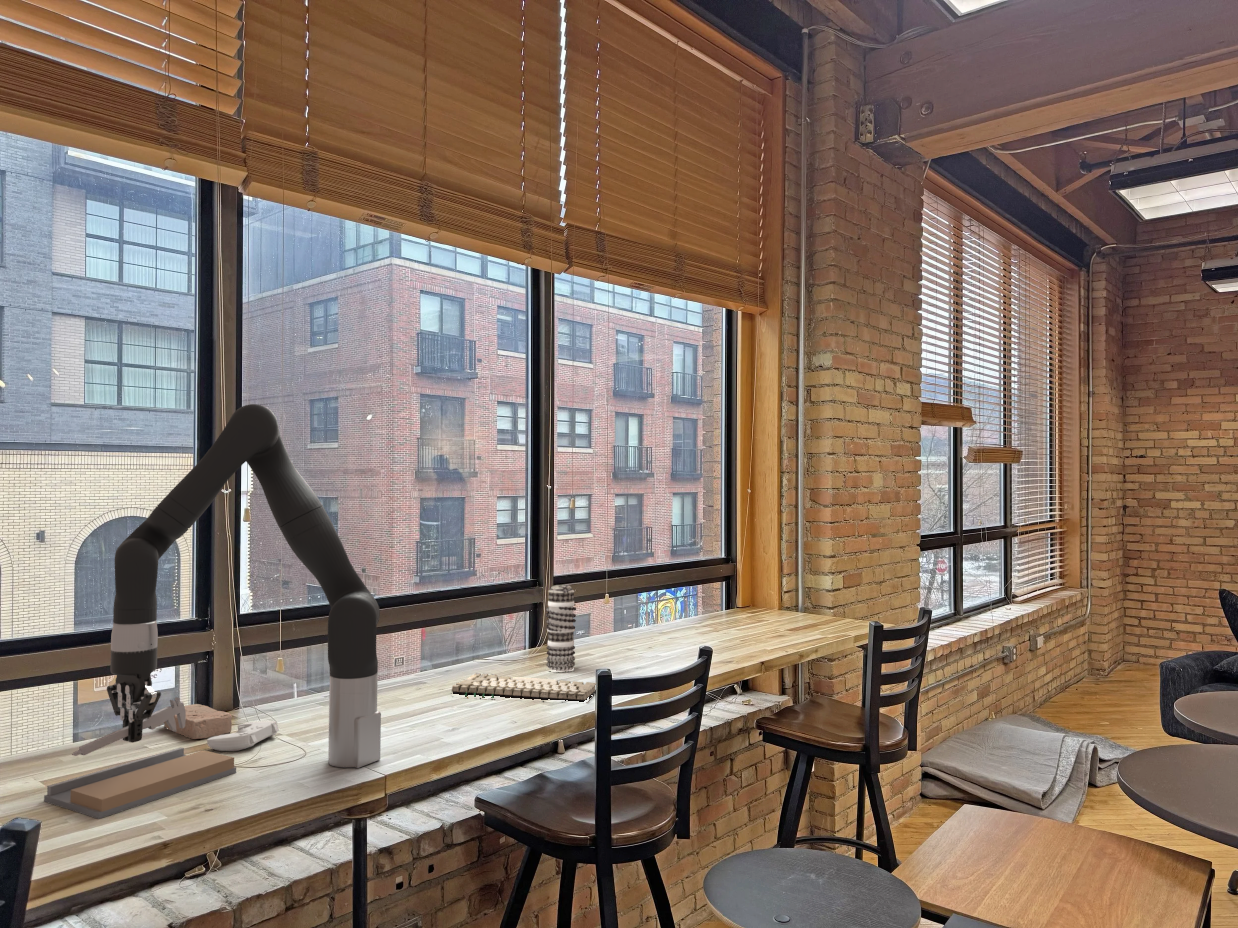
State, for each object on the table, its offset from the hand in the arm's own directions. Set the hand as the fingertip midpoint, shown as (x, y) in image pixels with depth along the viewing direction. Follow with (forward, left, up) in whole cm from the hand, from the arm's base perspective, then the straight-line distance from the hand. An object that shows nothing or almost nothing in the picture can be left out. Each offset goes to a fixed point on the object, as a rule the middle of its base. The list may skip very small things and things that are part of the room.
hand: (132, 740), depth 158 cm
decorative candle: (-17, -121, -8) cm, 122 cm away
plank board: (-4, 0, -8) cm, 9 cm away
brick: (+20, -27, -8) cm, 35 cm away
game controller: (+2, -26, -8) cm, 28 cm away
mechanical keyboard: (-24, -93, -9) cm, 96 cm away
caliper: (0, 0, -1) cm, 1 cm away
